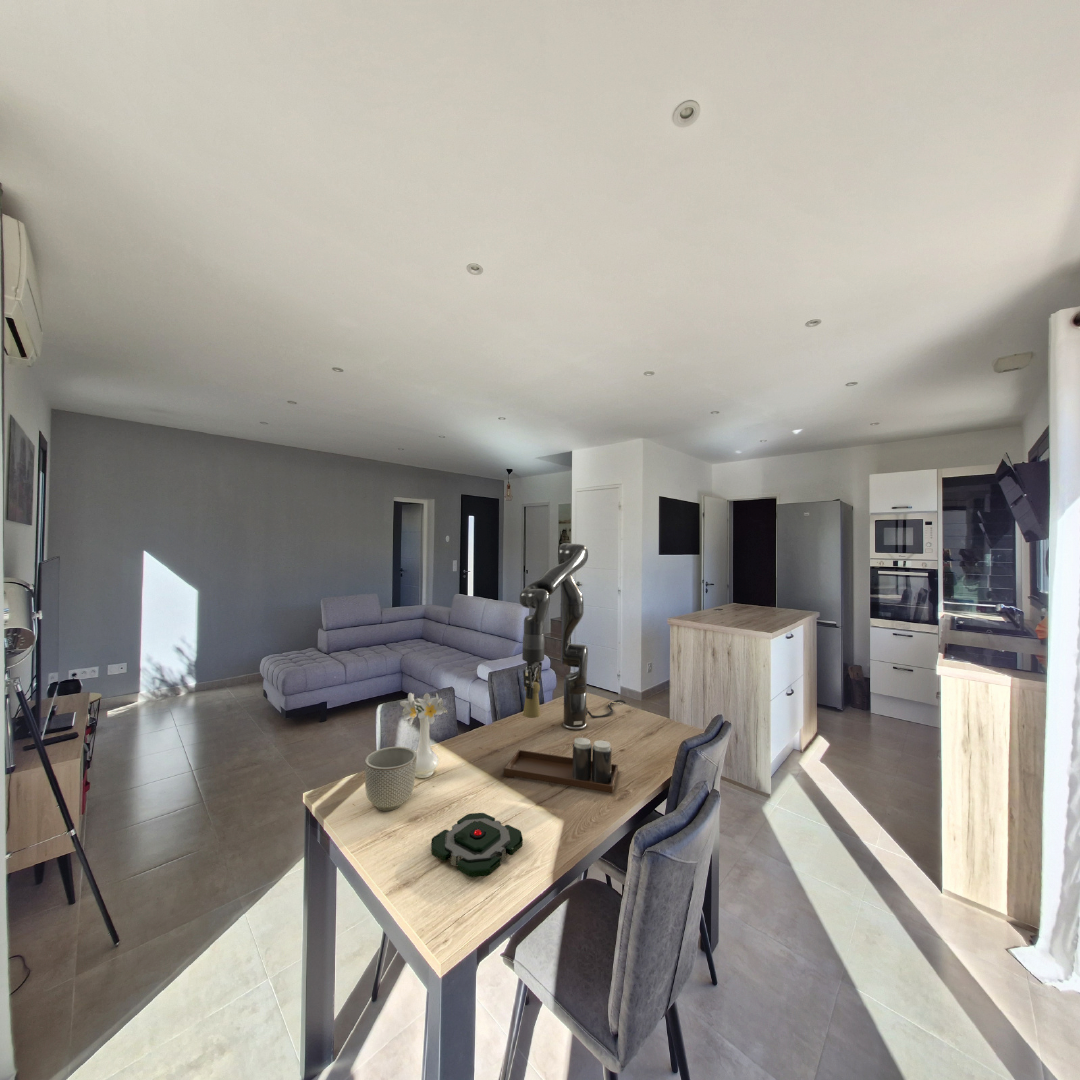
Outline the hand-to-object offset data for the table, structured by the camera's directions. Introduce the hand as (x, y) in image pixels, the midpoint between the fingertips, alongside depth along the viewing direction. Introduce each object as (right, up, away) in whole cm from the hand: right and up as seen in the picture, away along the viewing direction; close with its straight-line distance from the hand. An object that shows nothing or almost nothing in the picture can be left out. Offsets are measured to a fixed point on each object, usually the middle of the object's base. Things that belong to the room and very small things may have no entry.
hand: (532, 695), depth 155 cm
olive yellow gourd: (0, -7, 0) cm, 7 cm away
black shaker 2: (+22, -21, -14) cm, 34 cm away
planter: (-39, -20, -29) cm, 53 cm away
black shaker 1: (+16, -21, -12) cm, 29 cm away
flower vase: (-35, -21, -12) cm, 42 cm away
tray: (+10, -22, -10) cm, 26 cm away
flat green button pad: (-12, -20, -48) cm, 53 cm away
